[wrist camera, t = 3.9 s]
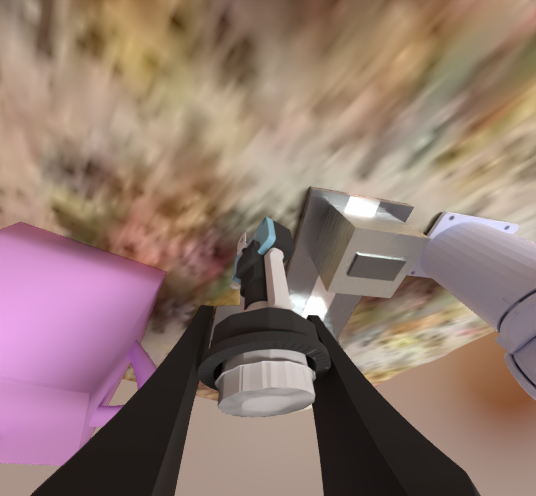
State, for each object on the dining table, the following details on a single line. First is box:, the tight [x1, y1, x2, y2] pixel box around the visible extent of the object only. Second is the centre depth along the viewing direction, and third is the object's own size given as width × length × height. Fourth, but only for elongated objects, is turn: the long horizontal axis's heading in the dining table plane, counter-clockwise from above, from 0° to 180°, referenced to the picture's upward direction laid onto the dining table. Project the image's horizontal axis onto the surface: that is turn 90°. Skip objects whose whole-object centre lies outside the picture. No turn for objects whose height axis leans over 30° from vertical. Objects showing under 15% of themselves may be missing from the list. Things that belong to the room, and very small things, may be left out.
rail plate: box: [285, 187, 431, 346], centre depth 22 cm, size 10×24×6 cm, turn 170°
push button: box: [198, 217, 331, 417], centre depth 11 cm, size 7×5×10 cm
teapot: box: [0, 222, 167, 466], centre depth 16 cm, size 15×25×14 cm, turn 61°
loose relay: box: [211, 305, 240, 341], centre depth 24 cm, size 4×6×5 cm, turn 0°
